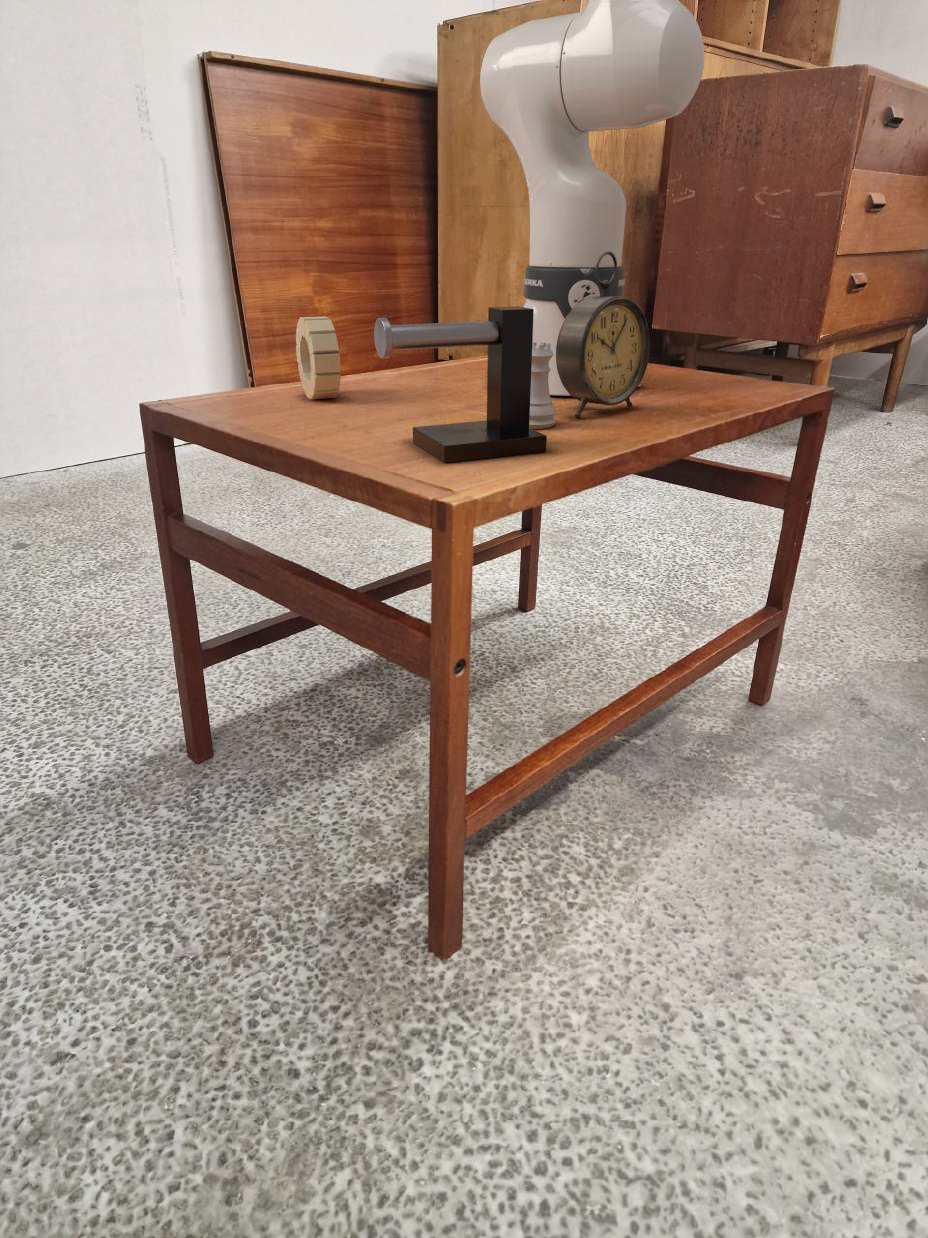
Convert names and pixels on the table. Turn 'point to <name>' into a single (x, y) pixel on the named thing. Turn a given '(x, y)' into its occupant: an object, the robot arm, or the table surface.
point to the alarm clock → (603, 347)
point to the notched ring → (318, 357)
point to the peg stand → (505, 383)
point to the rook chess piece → (541, 388)
